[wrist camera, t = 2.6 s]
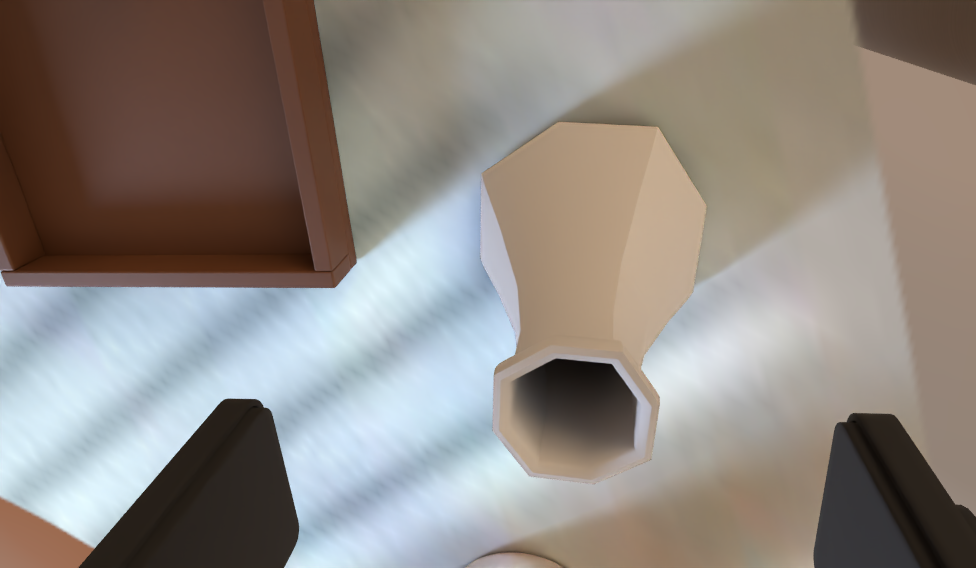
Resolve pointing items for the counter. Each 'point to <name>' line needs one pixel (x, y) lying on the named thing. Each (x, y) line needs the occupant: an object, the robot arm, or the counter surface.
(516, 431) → the flask
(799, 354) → the counter surface
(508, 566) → the beer glass
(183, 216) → the tray
